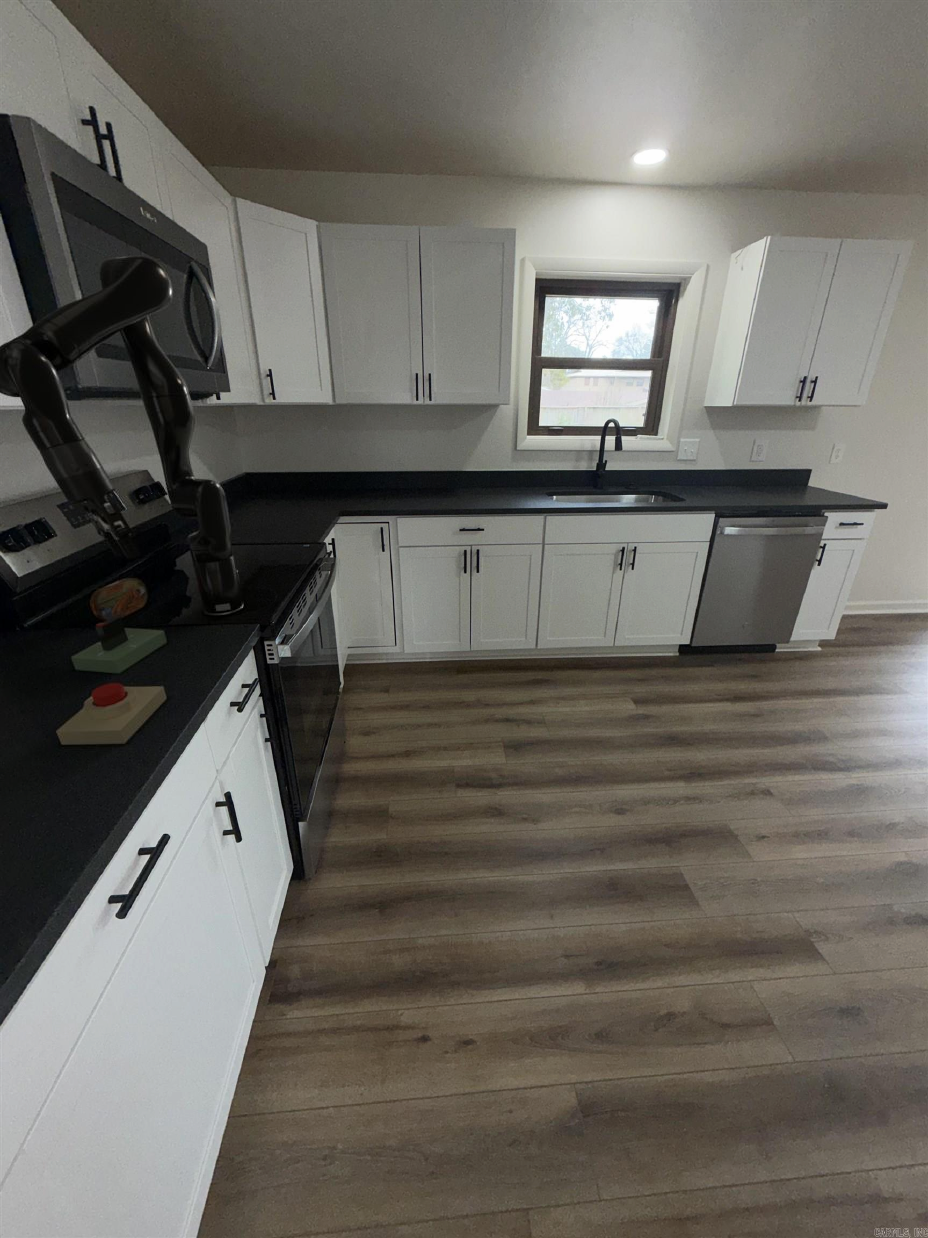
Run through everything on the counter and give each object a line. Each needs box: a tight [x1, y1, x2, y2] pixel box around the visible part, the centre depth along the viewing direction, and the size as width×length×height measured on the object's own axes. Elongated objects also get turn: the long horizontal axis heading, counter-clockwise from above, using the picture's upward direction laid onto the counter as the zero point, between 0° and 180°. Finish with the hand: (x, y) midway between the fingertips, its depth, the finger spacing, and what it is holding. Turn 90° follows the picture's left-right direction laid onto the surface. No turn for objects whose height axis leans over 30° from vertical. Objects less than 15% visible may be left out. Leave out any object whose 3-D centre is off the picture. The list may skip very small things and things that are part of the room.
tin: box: [89, 577, 149, 621], centre depth 125 cm, size 15×3×8 cm, turn 168°
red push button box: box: [55, 685, 168, 746], centre depth 84 cm, size 13×10×4 cm
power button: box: [91, 682, 126, 707], centre depth 83 cm, size 4×4×2 cm
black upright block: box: [94, 616, 128, 651], centre depth 103 cm, size 5×2×6 cm, turn 171°
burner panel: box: [70, 627, 168, 674], centre depth 106 cm, size 14×10×3 cm
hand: (128, 556), depth 94 cm, fingers open, 8 cm apart
